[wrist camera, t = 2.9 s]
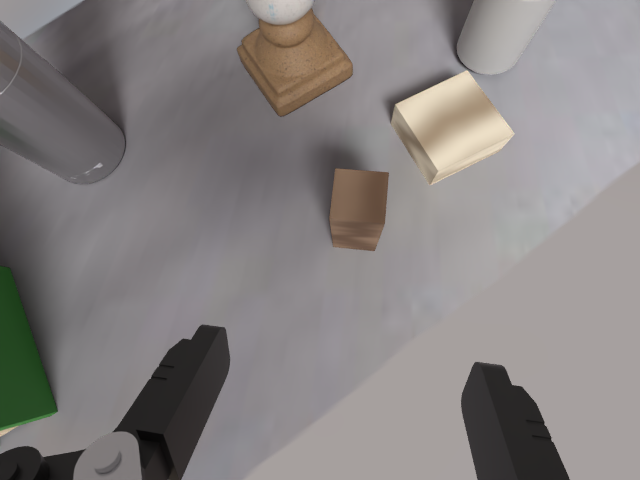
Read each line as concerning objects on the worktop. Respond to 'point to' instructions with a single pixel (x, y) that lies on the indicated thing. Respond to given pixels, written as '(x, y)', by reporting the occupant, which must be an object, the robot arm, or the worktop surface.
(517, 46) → the can
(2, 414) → the green and white box
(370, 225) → the walnut pillar
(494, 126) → the birch block
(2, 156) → the worktop surface
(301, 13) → the candle holder
